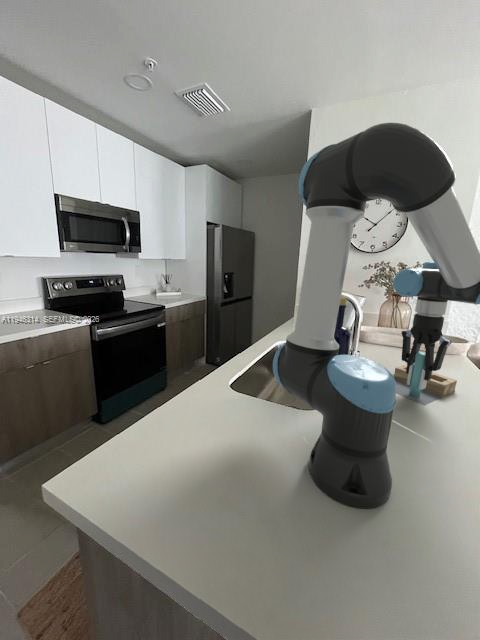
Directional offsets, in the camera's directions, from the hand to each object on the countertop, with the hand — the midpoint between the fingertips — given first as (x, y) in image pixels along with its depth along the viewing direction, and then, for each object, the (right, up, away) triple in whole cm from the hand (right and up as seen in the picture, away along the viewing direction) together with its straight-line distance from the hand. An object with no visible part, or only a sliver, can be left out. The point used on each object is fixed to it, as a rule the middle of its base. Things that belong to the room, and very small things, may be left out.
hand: (416, 386), depth 87 cm
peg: (0, -3, +1) cm, 3 cm away
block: (+8, -1, +9) cm, 12 cm away
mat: (+3, -2, +7) cm, 8 cm away
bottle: (-23, -1, +10) cm, 25 cm away
